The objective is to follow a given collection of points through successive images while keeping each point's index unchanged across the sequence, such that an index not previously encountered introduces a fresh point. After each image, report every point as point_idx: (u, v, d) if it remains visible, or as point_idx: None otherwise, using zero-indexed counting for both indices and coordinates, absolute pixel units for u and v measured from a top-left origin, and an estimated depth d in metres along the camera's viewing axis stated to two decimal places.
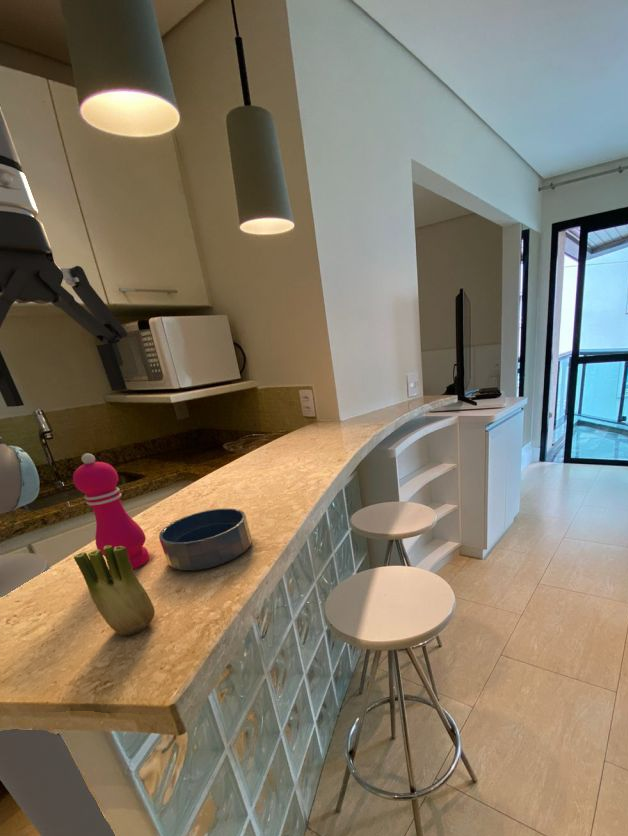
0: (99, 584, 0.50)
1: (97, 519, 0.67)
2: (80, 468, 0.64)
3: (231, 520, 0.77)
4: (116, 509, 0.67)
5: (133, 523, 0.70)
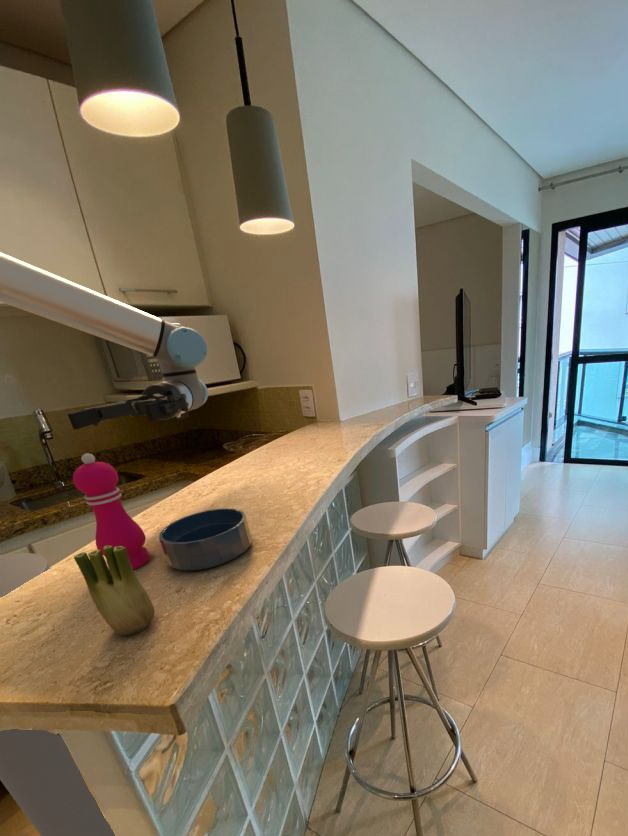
0: (99, 584, 0.50)
1: (97, 519, 0.67)
2: (80, 468, 0.63)
3: (231, 520, 0.77)
4: (116, 509, 0.67)
5: (133, 523, 0.70)
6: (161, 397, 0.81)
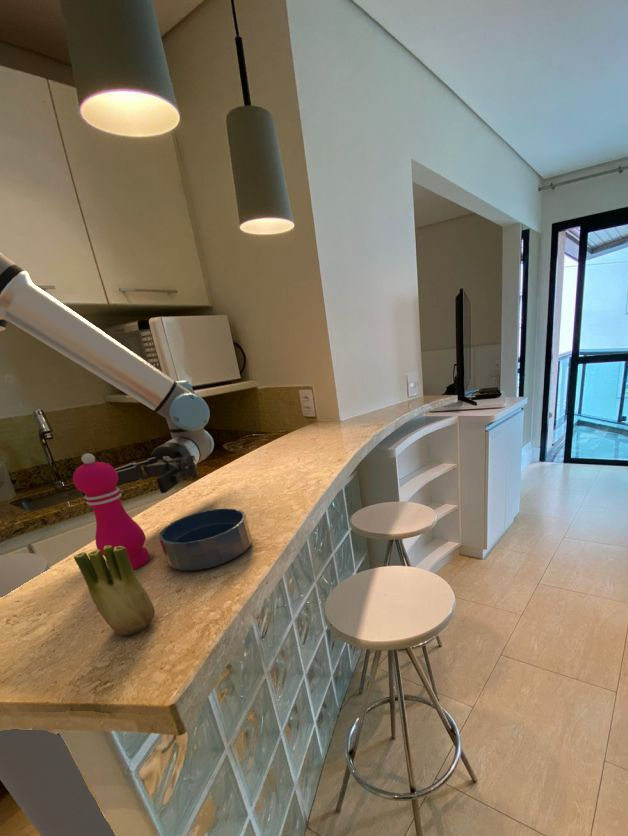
0: (99, 584, 0.50)
1: (97, 519, 0.67)
2: (80, 468, 0.63)
3: (231, 520, 0.77)
4: (116, 509, 0.67)
5: (133, 523, 0.70)
6: (170, 461, 0.82)
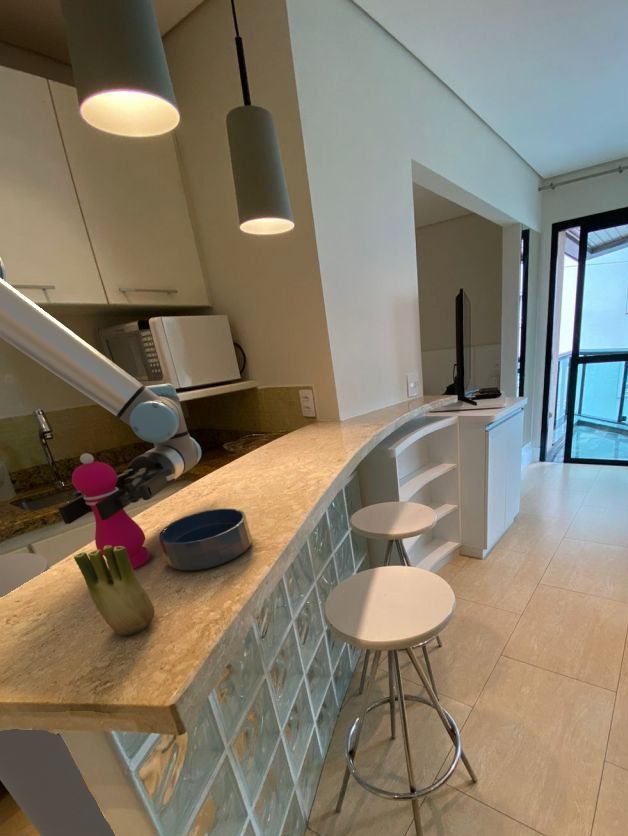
0: (99, 584, 0.50)
1: (96, 519, 0.67)
2: (79, 468, 0.63)
3: (231, 520, 0.77)
4: None
5: (132, 523, 0.69)
6: (138, 476, 0.74)
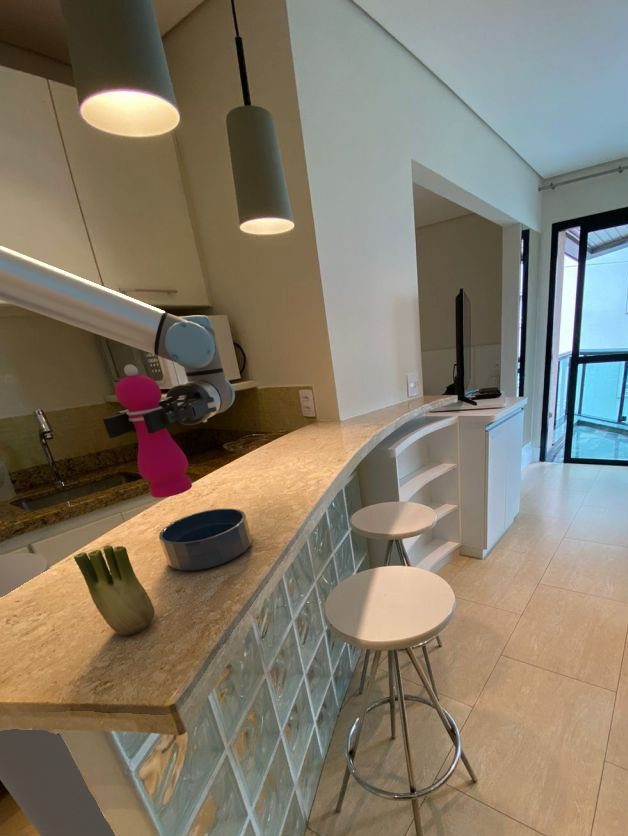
0: (99, 584, 0.50)
1: (140, 438, 0.63)
2: (123, 379, 0.59)
3: (231, 520, 0.77)
4: None
5: (176, 445, 0.66)
6: (180, 401, 0.70)
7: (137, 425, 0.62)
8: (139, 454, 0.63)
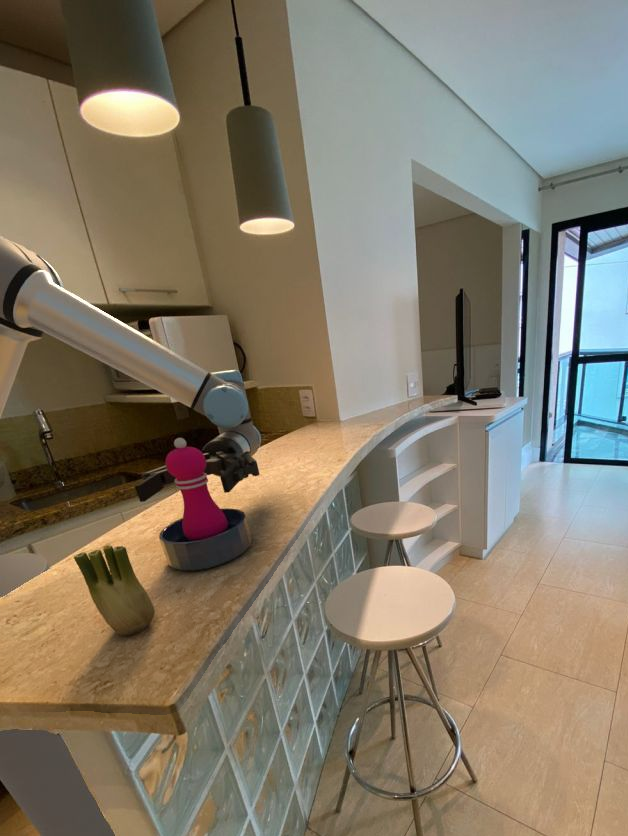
0: (99, 584, 0.50)
1: (186, 503, 0.67)
2: (173, 452, 0.64)
3: (231, 520, 0.77)
4: (204, 494, 0.68)
5: (218, 508, 0.70)
6: (227, 458, 0.75)
7: (184, 492, 0.66)
8: (184, 518, 0.68)
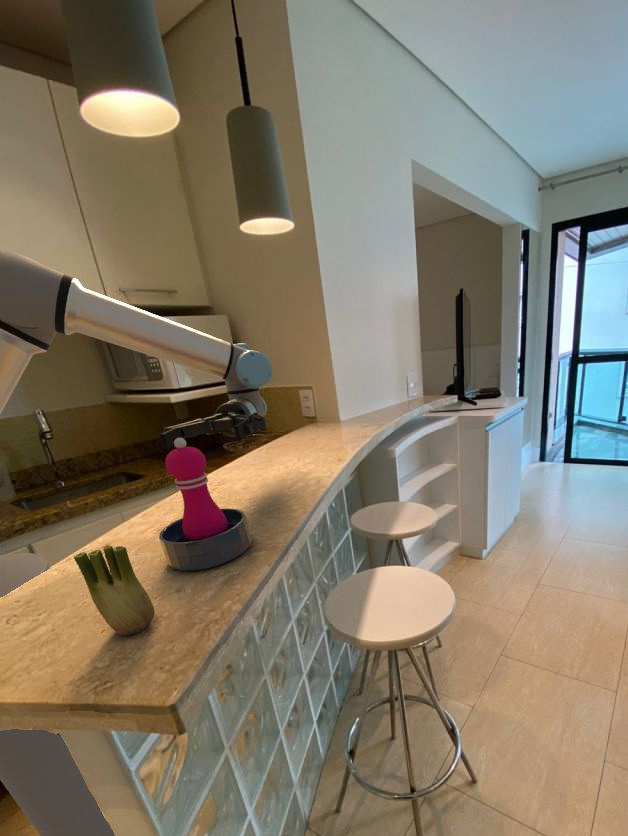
0: (99, 584, 0.50)
1: (186, 503, 0.67)
2: (173, 452, 0.64)
3: (231, 520, 0.77)
4: (204, 494, 0.68)
5: (218, 508, 0.70)
6: (238, 416, 0.85)
7: (184, 492, 0.66)
8: (184, 518, 0.68)
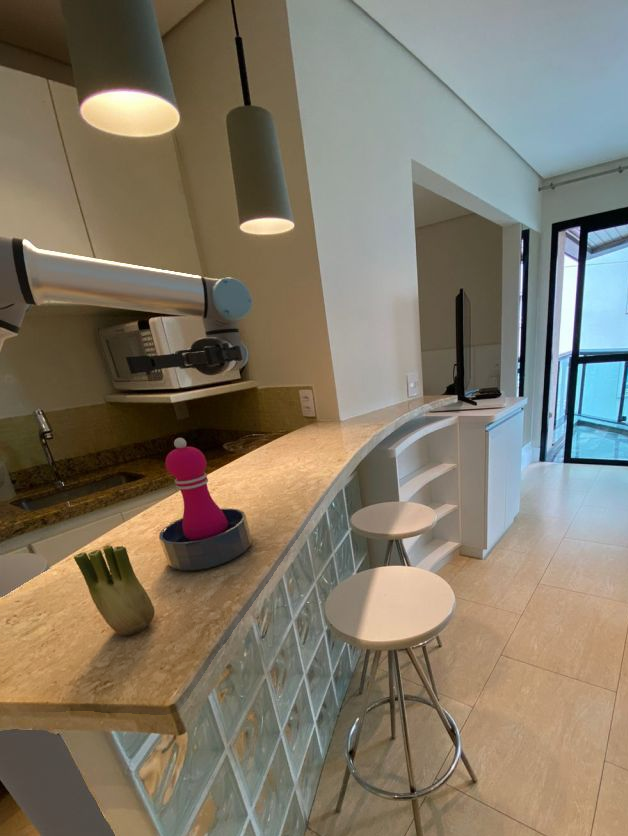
0: (99, 584, 0.50)
1: (186, 503, 0.67)
2: (173, 452, 0.64)
3: (231, 520, 0.77)
4: (204, 494, 0.68)
5: (218, 508, 0.70)
6: (213, 348, 0.80)
7: (184, 492, 0.66)
8: (184, 518, 0.68)
